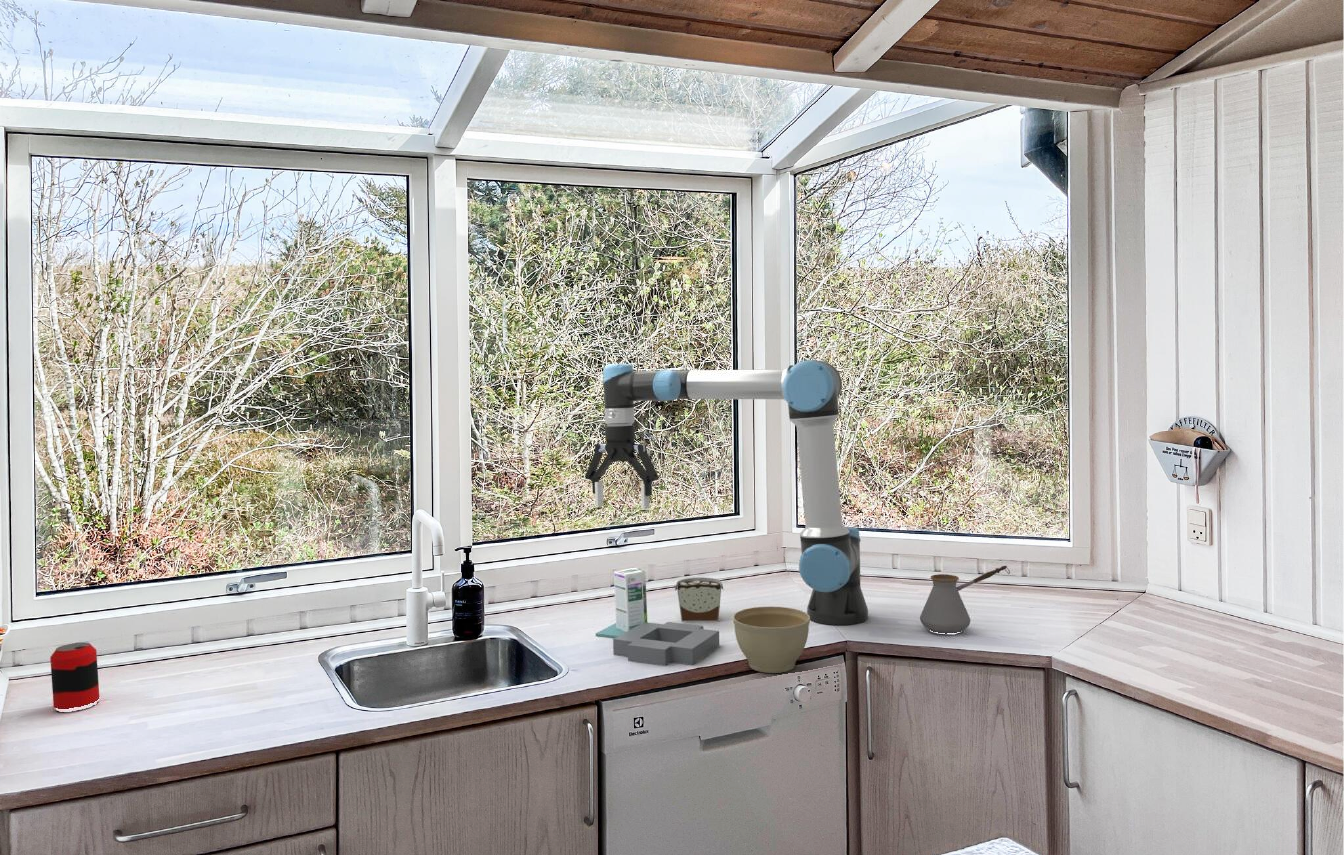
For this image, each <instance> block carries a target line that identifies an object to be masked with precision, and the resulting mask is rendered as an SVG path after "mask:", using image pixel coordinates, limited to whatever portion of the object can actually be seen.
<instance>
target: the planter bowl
mask: <svg viewBox="0 0 1344 855" xmlns="http://www.w3.org/2000/svg"><path fill="white" fill-rule="evenodd" d="M732 621H733V624H734V634H735V638H736V641H737V644H738V647H739V648H740V651H741V652H742V654H743V655H744V657H745V658H746V659H747V661H748V664H749V667H750V669H752V670H754V671H756V672H760V673H768V674H778V673H779V674H780V673H786V672H789V671H792V670H793V669H794V668H795V666H796V662H797V660H798V659H799V657H800V656H801V655H802V653H803V652H804V649H805V647H806V644H807V641H808V637H809V631H810V630H809V629H810V622H811V620H810V616H809V615H808V614H807V612H806V611H803V610H800V609H797V608H791V607H787V606H786V607H784V606H771V605H770V606H757V607H755V606H754V607H749V608H743V609H741V610H738V611H736V612H735V613H734V614H733V615H732Z"/></svg>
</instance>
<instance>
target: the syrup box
mask: <svg viewBox="0 0 1344 855" xmlns="http://www.w3.org/2000/svg"><path fill="white" fill-rule="evenodd" d="M646 578H647V576H646V571H645V570H644V569H641V568H638V567H632V568H626V569H621V570H615V571H613V579H614V580H613V581H614V583H613V584H614V603H615V623H616V628H617V629H619V630H621V631H623V632H627V631H629V630H631V629H633V628H634V627H636V626H638V625H640V624H642V623H647V622H648V606H647V605H648V603H647V602H648V601H647V580H646Z"/></svg>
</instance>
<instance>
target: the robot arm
mask: <svg viewBox="0 0 1344 855" xmlns="http://www.w3.org/2000/svg"><path fill="white" fill-rule="evenodd" d="M602 379H603V381H602V385H603V400H604V423H605V424H606V426H605V427H604V429H605V430H604V432H605V437H604V438H605V443H603V442H601V443H600V442H599V443H595V445H594V452H593V456H592V459H591V460H590V463H589V465H588V468H587V471H586V473H585V477H584V478H585V480H589V481H591V483H592V484H591V485H592V486H591V487H592V493H593V495H594V497H595V498H594V499H595V508H601V507H604V505H605V504H604V484H603V483H604V482H603V480H601V478H603V476H604V474H605V473H607V470H608V469H609V467H611V465H612V463H614V462H622V463H624V462H625V463H626V462H627V463H628V464H629V465H630V466H631V467H632V468H633V469H634V471H635V472H636V473H637V475H638V476H639V477H640V478H641V481H642V483H641V485H640V488H641V489H640V490H641V492H640V493H641V510H643V511H644V510H647V509H650V508H651V507H650V506H651V505H650V496H652V495H653V485H652V484H653V483H654V482H655V481H658V480H659V479H660V476H659V474H658V472H657V471H656V468H655V466H654V464H653V462H652V459H651V458H650V456H649V453H648V449H647V444H646V443H639V444H636V443H635V439H636V433H635V432H636V431H635V430H636V428H635V425H633V424H634V423H635V403H634V402H645V401H647V402H650V401H651V402H657V401H659V402H668V401H675V400H784V401H786V403H787V406H788V417H789V418H788V419H789V421H790V422H791V423H793V425H795V427H796V432H797V445H798V457H799V465H800V466H799V467H800V469H799V470H800V477H801V487H802V488H801V489H802V499H803V501H802V502H803V509H804V510H803V511H804V512H803V513H804V520H805V526H804V527H805V528H803V530H802V531H801V532H800V533H799V537H800V548H801V549H800V550H801V551H800V552H801V555H800V557H799V559H798V560H799V563H798V571H799V573H800V577H801V579H802V581H803V582H804V584H806V585H807V586H808V587H809V588H811V589H812V591H811V594H810V597H809V600H808V604H807V608H806V613H807V614H808V615H809V616H810V621H813V622H815V623H819V624H825V625H832V626H833V625H835V626H844V625H845V626H847V625H854V624H855V625H856V624H860V623H863V622H865V621H867V620H868V619H869V609H868V605H867V602H866V599H865V597H864V593H863V590H862V586H861V547H860V546H861V545H860V544H861V537H860V531H859V529H858V528H856V527H852V526H845V525H844V524H843V518H842V515H843V514H842V507H841V506H842V505H841V496H840V494H841V493H840V484H839V473H838V463H837V462H838V461H837V460H838V459H837V451H836V440H835V438H836V437H835V428H834V422H836V420H837V419H838V418H839V416H840V412H839V398H838V397H839V396H840V394H841V391H842V386H843V382H842V377H841V374H840V372H839V371H838V369H836V367H835V366H833V364H830V363H829V362H826V361H823V360H822V361H821V360H816V359H807V360H802V361H800V362H797V363H796V364H794V365H793V364H792V365H791V364H790V365H788V366H787V367H786V368H785V369H718V370H717V369H715V370H714V369H703V370H701V369H698V370H697V369H696V370H691V369H690V370H677V369H673V370H668V369H661V370H645V371H644V370H642V371H637V370H634V367H633V365H632V364H630V363H619V364H617V363H615V364H613V363H612V364H607V365H605V366H604V368H603V378H602ZM604 452H606V453H607V454H606V456H605V457H604V459H603V462H601V460H602V457H603V456H604ZM635 452H636V453H638V456H639V458H640V460H639V459H638V457H637V455H636V454H635ZM640 461H641V462H640ZM600 462H601V464H600ZM599 465H600V466H599Z"/></svg>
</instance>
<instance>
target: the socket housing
mask: <svg viewBox="0 0 1344 855" xmlns="http://www.w3.org/2000/svg"><path fill="white" fill-rule="evenodd" d="M652 623H653V622H648V623H642V624H640V625H638V626H636V627H634V628H633V629H631V630H629V631H627V632H625V633H623V634H622V635H620V636H618V637H616V638H612V645H613V647H612V648H613V655H614V656H621V655H623V656H622V657H627V661H628V662H634V661H635V663H643V664H649V665H656V664H657V666H664V665H666V666H667V665H669V664H670V663H676V664H683V665H689V666H693V665H695V664H696V663H698V662H699V661H700V660H702V659H703V658H704V657H706V656H708V655H709V654H710V653H712V652H713V651H714V650H716V649H718V648H719V647H720V630H715V629H714V630H713V629H705V628H704V625H700V624H693V623H692V624H690V623H681V622H672V621H666V622H665V623H657V624H652ZM661 624H663V625H661ZM651 663H652V664H651ZM668 663H669V664H668Z"/></svg>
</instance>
